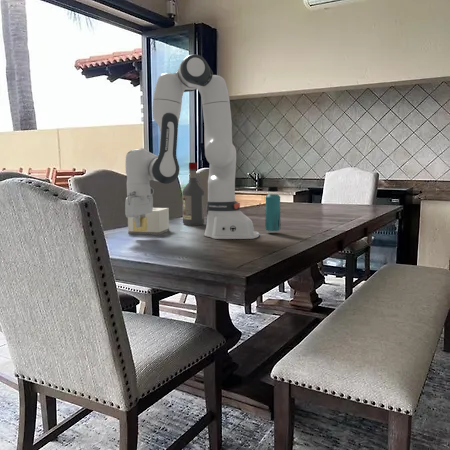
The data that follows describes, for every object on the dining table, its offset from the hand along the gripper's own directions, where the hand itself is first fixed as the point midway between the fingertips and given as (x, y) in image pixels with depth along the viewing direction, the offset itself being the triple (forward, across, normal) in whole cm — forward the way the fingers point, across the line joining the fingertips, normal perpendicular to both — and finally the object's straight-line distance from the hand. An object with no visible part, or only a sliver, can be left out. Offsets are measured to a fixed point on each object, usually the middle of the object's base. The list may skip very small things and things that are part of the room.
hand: (140, 226), depth 175 cm
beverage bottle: (+7, +24, -50) cm, 55 cm away
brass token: (+2, 0, 0) cm, 2 cm away
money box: (+5, +18, +4) cm, 20 cm away
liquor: (+6, +46, -9) cm, 47 cm away
